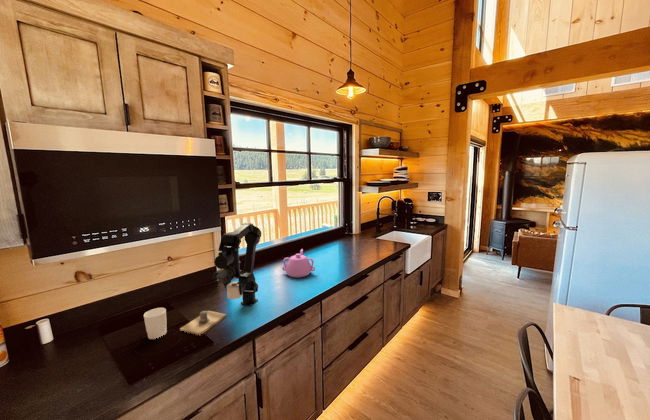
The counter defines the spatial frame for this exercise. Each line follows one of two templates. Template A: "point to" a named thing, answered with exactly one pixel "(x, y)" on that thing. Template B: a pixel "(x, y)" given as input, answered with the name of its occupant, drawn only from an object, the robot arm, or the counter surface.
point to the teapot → (298, 265)
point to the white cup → (155, 322)
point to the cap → (233, 291)
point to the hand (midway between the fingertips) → (234, 293)
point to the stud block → (203, 322)
